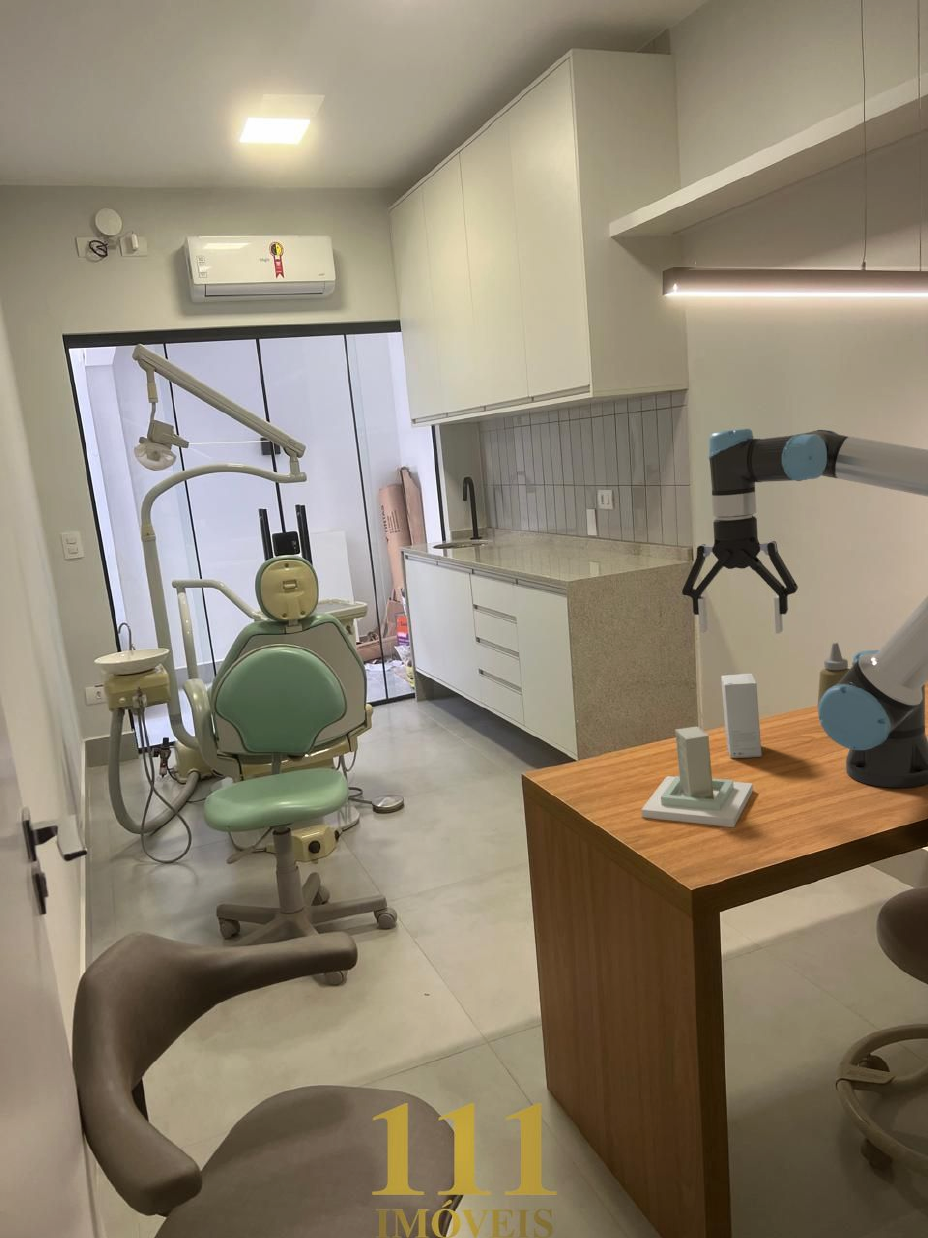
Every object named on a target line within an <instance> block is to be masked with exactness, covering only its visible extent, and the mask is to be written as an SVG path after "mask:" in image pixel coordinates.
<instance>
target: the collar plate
mask: <svg viewBox="0 0 928 1238" xmlns="http://www.w3.org/2000/svg"><path fill="white" fill-rule="evenodd" d="M712 784H713V795H714V799H707V798H696V797H686V796H684V795H683V794H682V792H681V787H680V777H679V775H676V776H669V775H668V776H667V775H666V777H665V778H664V780H662V782H661V783H660V785H659V786H658V787H657V788H656V790H655V791H654V793H653V794H652V795H651V796H650V798H649V799H648V800H647V801H646V803H644V806H642V808H641V818H644V819H653V820H662V821H663V820H664V821H670V822H672V821H673V822H681V823H688V824H689V823H691V824H697V825H698V824H699V825H708V826H716V827H717V826H718V827H725V828H726V827H728V828H735V825H736V824H737V822H738V821H739V818H740V816H742V815H741V814H743V811H744V809H745V807H746V805H747V803H748V801H749V800H750V798H751V796H752V794H753V791H754V783H751V782H743V781H742V782H739V781H734V780H733V779H723V778H715V777H712Z"/></svg>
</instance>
